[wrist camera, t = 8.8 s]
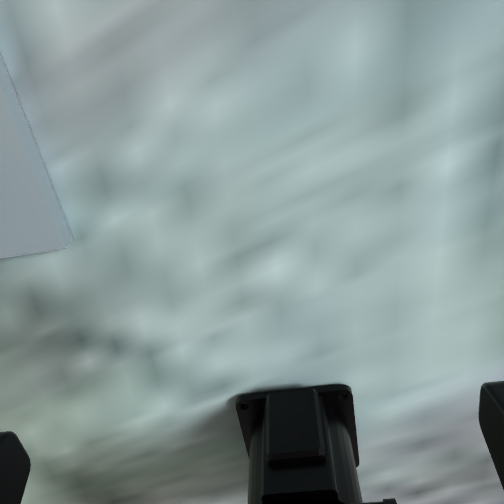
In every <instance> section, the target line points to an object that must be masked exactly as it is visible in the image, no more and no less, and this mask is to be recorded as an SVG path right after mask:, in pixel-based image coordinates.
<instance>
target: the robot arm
mask: <svg viewBox="0 0 504 504" xmlns="http://www.w3.org/2000/svg"><path fill="white" fill-rule="evenodd" d="M342 393H345V394H343V395H341V394H342ZM243 403H246V405H244V404H243ZM236 410H237V414H238V418H239V422H240V425H241V429H242V433H243V437H244V441H245V444H246V448H247V452H248V456H249V482H248V504H397V503H396V500H395V498H392V499H383V501H382V502H369V503H363V502H362V497H361V491H360V486H359V481H358V476H357V470H356V467H358V465H359V455H358V445H357V435H356V425H355V415H354V405H353V395H352V391H351V388H350V387H349V386H347V385H332V386H323V387H313V388H304V389H294V390H285V391H275V392H266V393H256V394H247V395H241V396H239V397H238V398H237V399H236ZM479 423H480V427H481V430H482V433H483V436H484V438H485V441H486V444H487V446H488V449H489V452H490V454H491V457H492V460H493V463H494V465H495V468H496V471H497V473H498V476H499V479H500V481H501V484H502V487H503V489H504V381H498V382H488V383H484V384H483V385H482V386H481V390H480V403H479ZM30 466H31V464H30V458H29V456H28V454H27V452H26V450H25V449H24V447H23V445H22V444H21V442H20V440H19V439H18V437H17V435H16V434H15V433H13V432H11V431H7V432H0V504H21V500H22V497H23V493H24V490H25V486H26V483H27V479H28V476H29V472H30Z"/></svg>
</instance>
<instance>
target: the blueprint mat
mask: <svg viewBox="0 0 504 504" xmlns="http://www.w3.org/2000/svg"><path fill="white" fill-rule="evenodd" d="M72 241H73V237H72V234H71V232H70V229H69V227H68V224H67V222H66V219H65V217H64V214H63V212H62V209H61V206H60V204H59V201H58V199H57V196H56V194H55V191H54V189H53V186H52V184H51V181H50V179H49V176H48V173H47V171H46V168H45V166H44V163H43V161H42V158H41V156H40V153H39V151H38V148H37V145H36V143H35V140H34V138H33V135H32V133H31V130H30V128H29V125H28V123H27V120H26V118H25V115H24V112H23V110H22V107H21V105H20V102H19V100H18V97H17V95H16V92H15V90H14V87H13V85H12V82H11V79H10V77H9V74H8V72H7V69H6V67H5V64H4V62H3V59H2V57H1V54H0V259H1V258H8V257H15V256H22V255H28V254H35V253H42V252H49V251H55V250H62V249H66V247H67V246H68V245H69V244H70V243H71V242H72Z"/></svg>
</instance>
